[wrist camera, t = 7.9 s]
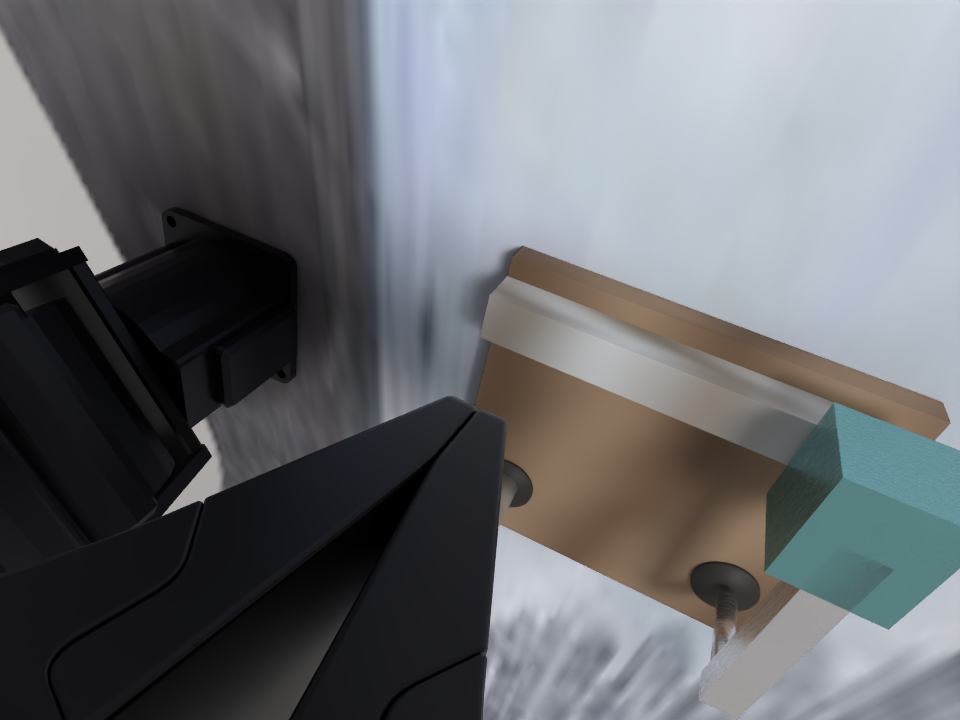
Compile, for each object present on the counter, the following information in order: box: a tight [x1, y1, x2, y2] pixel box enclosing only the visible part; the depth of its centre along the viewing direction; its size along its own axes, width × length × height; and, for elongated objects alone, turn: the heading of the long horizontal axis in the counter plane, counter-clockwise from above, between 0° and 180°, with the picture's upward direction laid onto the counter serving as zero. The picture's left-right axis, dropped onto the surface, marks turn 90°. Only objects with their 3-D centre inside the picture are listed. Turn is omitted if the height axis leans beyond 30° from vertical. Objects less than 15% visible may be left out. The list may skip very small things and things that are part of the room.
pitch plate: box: [475, 246, 950, 631], centre depth 20 cm, size 13×12×4 cm
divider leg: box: [699, 402, 960, 719], centre depth 17 cm, size 3×10×4 cm, turn 168°
